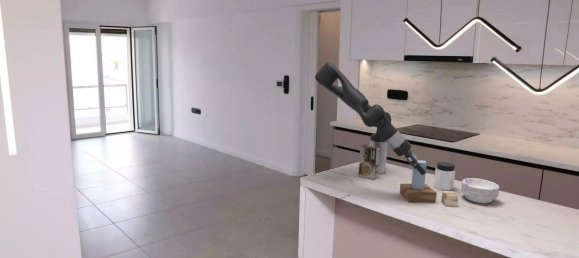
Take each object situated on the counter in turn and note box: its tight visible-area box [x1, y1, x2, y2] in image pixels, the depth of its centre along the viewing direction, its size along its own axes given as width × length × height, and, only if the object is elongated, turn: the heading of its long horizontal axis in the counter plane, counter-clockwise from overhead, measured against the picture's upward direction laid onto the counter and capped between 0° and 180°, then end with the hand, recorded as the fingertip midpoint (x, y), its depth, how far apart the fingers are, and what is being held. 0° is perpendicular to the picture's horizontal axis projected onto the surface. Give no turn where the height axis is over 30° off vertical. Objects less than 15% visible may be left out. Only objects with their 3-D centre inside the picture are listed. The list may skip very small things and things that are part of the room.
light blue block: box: [411, 159, 428, 190], centre depth 178 cm, size 5×5×12 cm
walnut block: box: [399, 183, 437, 204], centre depth 179 cm, size 12×12×5 cm
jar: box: [433, 161, 456, 191], centre depth 194 cm, size 9×8×12 cm
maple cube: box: [440, 190, 459, 207], centre depth 173 cm, size 5×5×5 cm
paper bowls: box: [460, 177, 500, 204], centre depth 179 cm, size 15×15×8 cm
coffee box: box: [358, 144, 381, 180], centre depth 208 cm, size 9×6×16 cm
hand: (423, 171), depth 177 cm, fingers open, 6 cm apart
